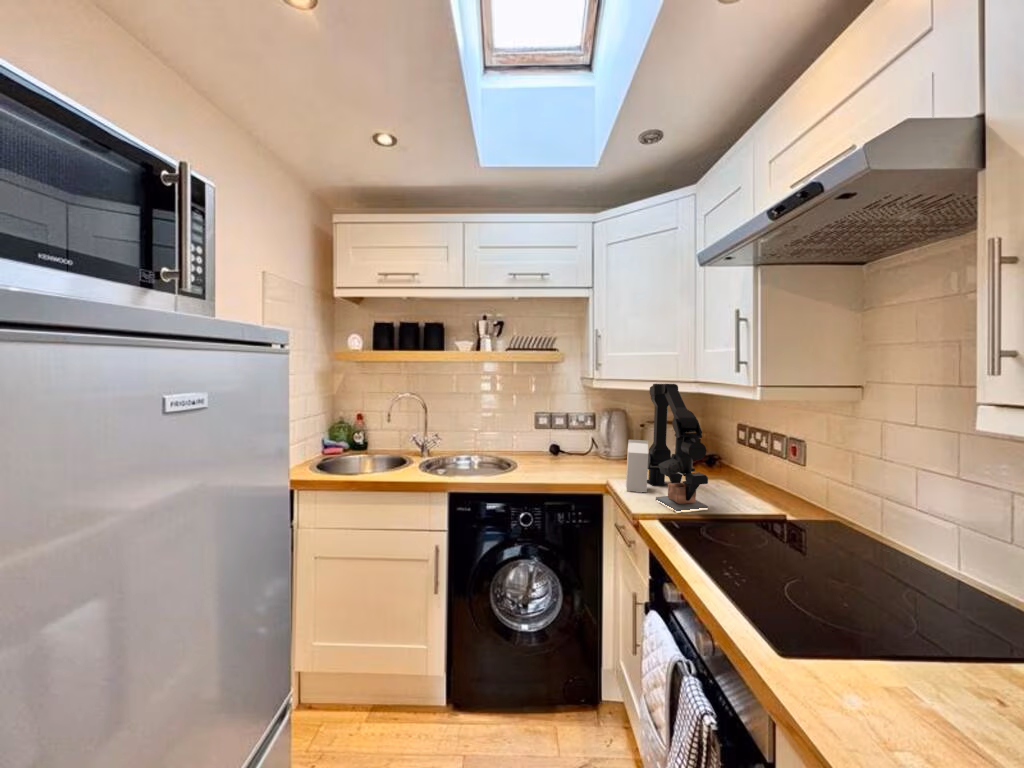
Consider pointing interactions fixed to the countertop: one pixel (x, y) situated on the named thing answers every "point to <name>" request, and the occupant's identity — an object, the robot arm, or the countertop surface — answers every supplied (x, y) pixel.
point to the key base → (680, 506)
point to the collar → (679, 493)
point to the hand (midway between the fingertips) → (681, 497)
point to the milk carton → (637, 466)
